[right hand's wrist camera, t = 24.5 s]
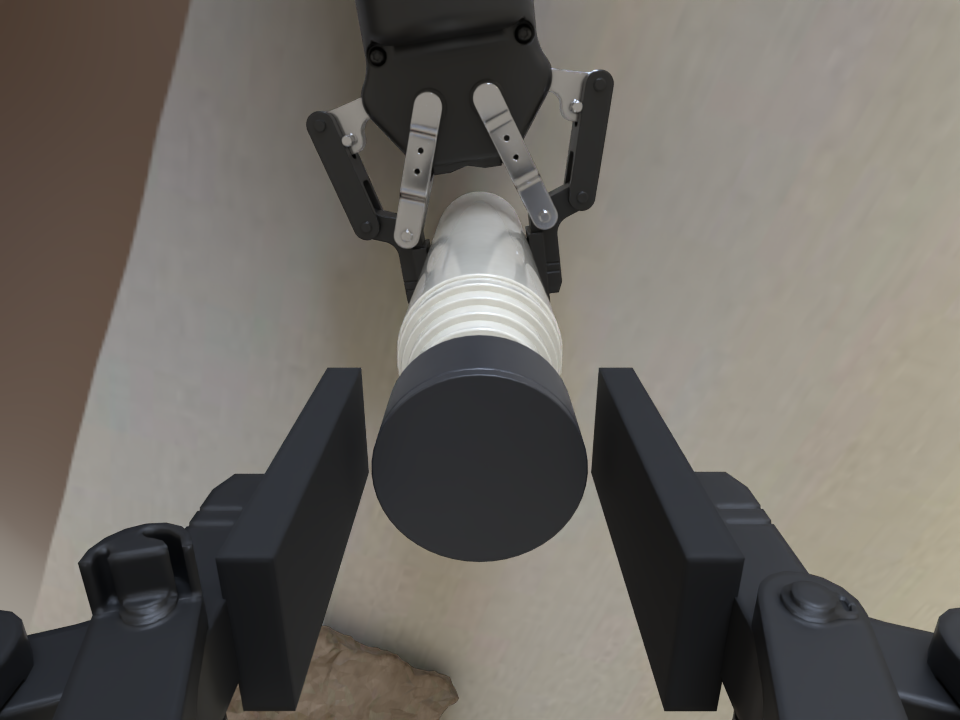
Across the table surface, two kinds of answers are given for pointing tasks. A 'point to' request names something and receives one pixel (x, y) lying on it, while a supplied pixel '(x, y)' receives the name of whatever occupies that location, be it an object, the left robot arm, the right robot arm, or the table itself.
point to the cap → (479, 450)
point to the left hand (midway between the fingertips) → (487, 307)
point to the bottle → (479, 284)
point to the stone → (360, 686)
